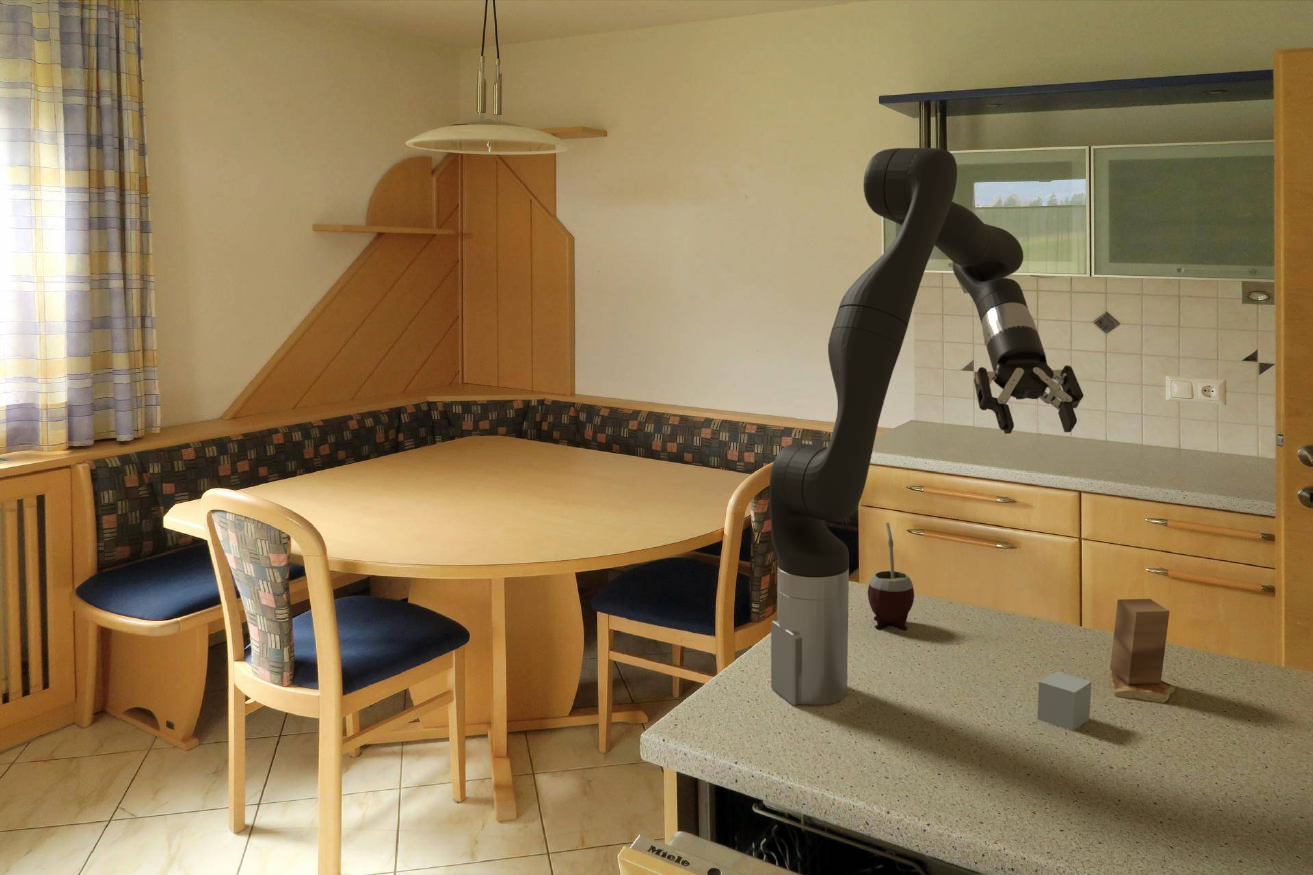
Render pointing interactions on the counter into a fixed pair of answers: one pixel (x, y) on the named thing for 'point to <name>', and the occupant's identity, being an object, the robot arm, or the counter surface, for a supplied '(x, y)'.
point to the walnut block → (1139, 641)
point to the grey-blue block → (1064, 700)
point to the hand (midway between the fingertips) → (1040, 429)
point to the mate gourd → (890, 595)
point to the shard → (1142, 690)
